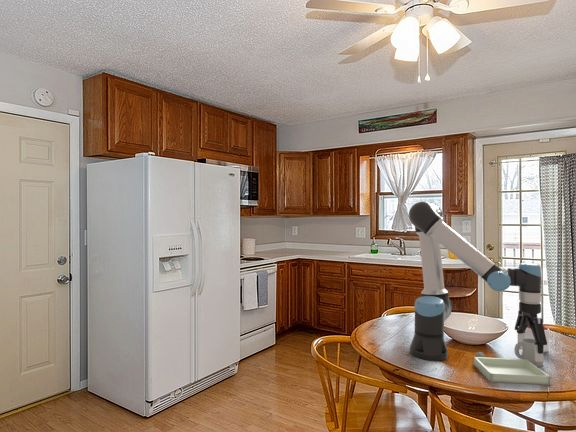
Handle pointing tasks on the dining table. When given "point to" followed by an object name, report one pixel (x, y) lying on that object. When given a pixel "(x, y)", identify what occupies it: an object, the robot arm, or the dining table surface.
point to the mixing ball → (479, 354)
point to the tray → (511, 371)
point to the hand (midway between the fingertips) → (529, 355)
